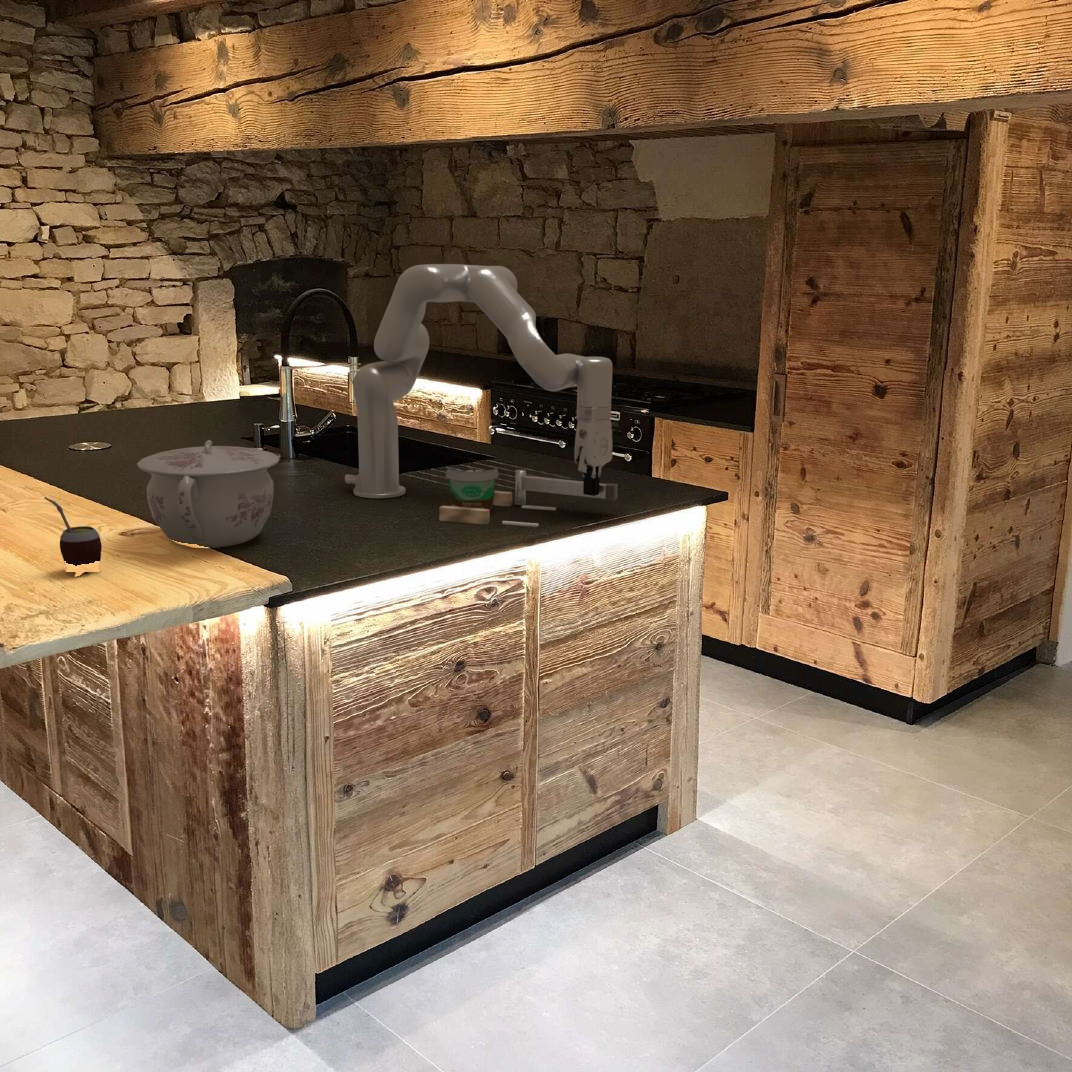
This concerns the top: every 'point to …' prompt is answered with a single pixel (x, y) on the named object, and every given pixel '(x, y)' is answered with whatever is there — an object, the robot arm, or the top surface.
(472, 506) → the food container
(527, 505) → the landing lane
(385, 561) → the top surface
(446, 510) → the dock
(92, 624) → the top surface
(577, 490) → the retention gate
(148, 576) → the top surface
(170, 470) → the chamber pot
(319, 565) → the top surface
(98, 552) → the mate gourd
